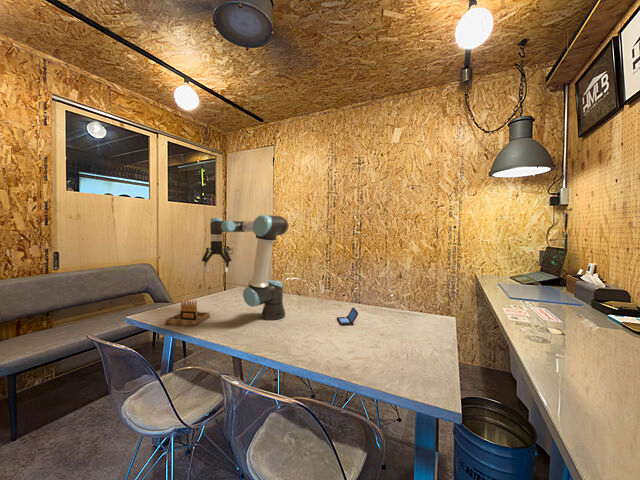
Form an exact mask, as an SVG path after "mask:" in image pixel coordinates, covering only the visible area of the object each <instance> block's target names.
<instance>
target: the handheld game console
mask: <svg viewBox="0 0 640 480" xmlns="http://www.w3.org/2000/svg"><path fill="white" fill-rule="evenodd" d="M358 315H359V312H358V310H357V309H356V308H355V307H351V310H350V311H349V312H348V314H347V316H342V317H341V316H337V317H336V319H337V321H338V323H339V325H340V326H341V327H342V326H353V325H354V322H355V320H356V319H357V317H358Z"/></svg>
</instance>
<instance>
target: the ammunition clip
mask: <svg viewBox="0 0 640 480" xmlns="http://www.w3.org/2000/svg"><path fill="white" fill-rule="evenodd" d="M197 304H198V303H197V300H196V299H195V300H193V299H192V300H191V299H190V300H189V299H181V301H180V310H179V311H180V312H179V313H180V319H184V320H196V319H197V318H198V312H199V311H198V306H197Z"/></svg>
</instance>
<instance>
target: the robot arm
mask: <svg viewBox="0 0 640 480" xmlns="http://www.w3.org/2000/svg"><path fill="white" fill-rule="evenodd" d="M209 224H210V225H209V226H210V233H209V234H210V247H205V248H206V249H205V253H204V255H203V257H202V259H201V261H202V262H204V267H205V272H206V273H207V272H209V271H210V262H209V261H210V259H211V258H212V257H213V256H214V255H219V256H220V257H221V258H222V259H223V261H224V273H228V270H229V269H228V268H229V265H230V263H231V262H232V258H231V256H230V253H229V252H228V248H227V247H223V233H254V235H255V239H256V240H257V243H256V249H255V255H254V256H255V257H254V264H253V271H252V276H251V277H252V278H251V280H249V282H248V287H245V288H244V289H243V292H242V297H243V300H244V302H245V303H246V305H248V306H249V307H252V308H253V307H258V306H261V305H263V307H262V311H261V318H262V319H263V320H265V321H276V320H281V319H283V318H285V317H286V310H285V307H284V304H283V297H284V294H283V292H284V291H283V290H284V285H283V282H282V281H281V280H273V279H268V276H269V270H270V269H269V268H270V263H271V256H272V250H273V243H274V242H276V240H277V236H283V235H285V234H286V233H287V231H288V229H289V223H288V220H287V219H286V218H285V217H283V216H280V215H270V214H269V215H268V214H262V215H258V216H257V217H256V218H255V219H253V220H227V219H226V220H223V218H222V217H211V218H210V223H209Z"/></svg>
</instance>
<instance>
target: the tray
mask: <svg viewBox="0 0 640 480" xmlns="http://www.w3.org/2000/svg"><path fill="white" fill-rule="evenodd" d="M209 318H211V312H208V311H207V312H205V311H198V318H197V319H196V320H184V319H180V312H179V313H177V314H175V315H173V316H170V317H169V318H166V319H165V325H166V326H176V327H177V326H181V327H196V326H197V325H200V324H202V323H203V322H204V321H206V320H209Z"/></svg>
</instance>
